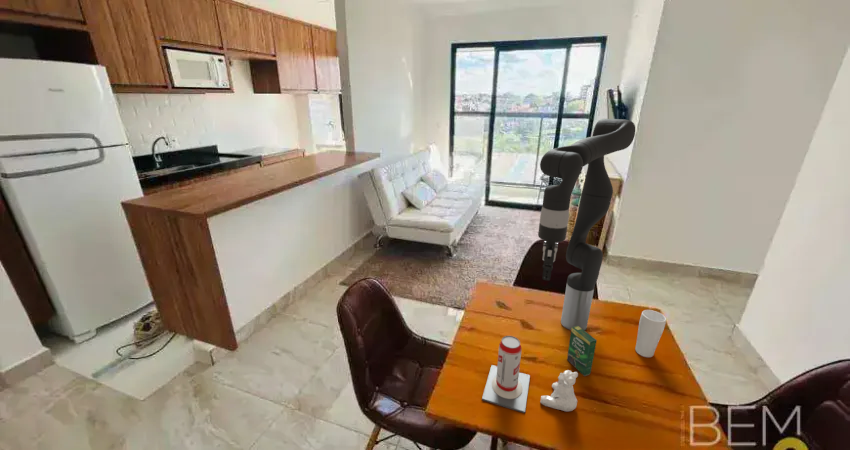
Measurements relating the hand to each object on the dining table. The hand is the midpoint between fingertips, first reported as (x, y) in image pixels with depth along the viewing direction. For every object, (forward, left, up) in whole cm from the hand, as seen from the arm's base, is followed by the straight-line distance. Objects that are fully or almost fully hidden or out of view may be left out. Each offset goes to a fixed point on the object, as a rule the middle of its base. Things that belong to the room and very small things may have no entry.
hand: (546, 273), depth 100 cm
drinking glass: (-16, +34, -32) cm, 50 cm away
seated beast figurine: (+16, +8, -32) cm, 37 cm away
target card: (+16, -7, -32) cm, 37 cm away
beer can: (+16, -7, -32) cm, 36 cm away
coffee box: (-1, +13, -32) cm, 35 cm away
